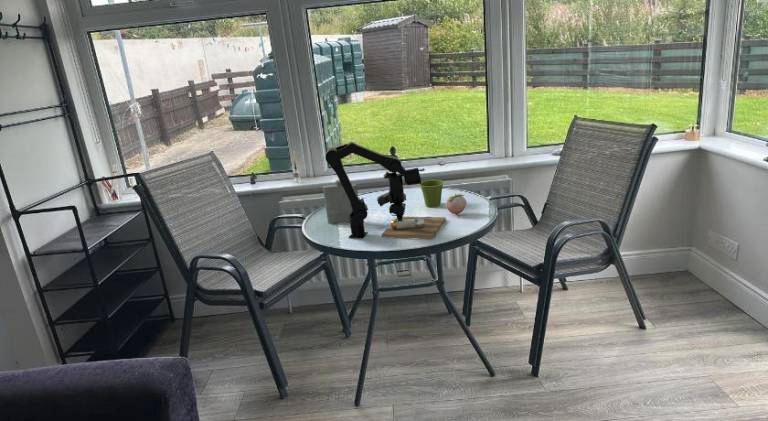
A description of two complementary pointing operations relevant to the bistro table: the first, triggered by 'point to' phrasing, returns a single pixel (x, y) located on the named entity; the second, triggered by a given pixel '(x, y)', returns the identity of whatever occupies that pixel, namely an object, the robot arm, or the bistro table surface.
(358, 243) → the bistro table surface
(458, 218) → the bistro table surface
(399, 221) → the lever
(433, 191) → the plant pot
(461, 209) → the decorative fruit
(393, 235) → the board
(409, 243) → the bistro table surface
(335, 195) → the hip flask
